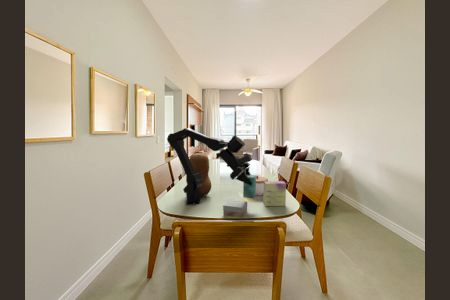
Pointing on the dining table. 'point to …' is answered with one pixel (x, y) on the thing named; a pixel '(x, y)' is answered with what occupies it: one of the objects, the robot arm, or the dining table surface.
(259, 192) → the lidded bowl
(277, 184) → the box
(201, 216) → the dining table surface
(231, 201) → the tower top slab
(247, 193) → the teal block
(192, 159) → the butternut squash
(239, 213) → the tower bottom slab
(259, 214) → the dining table surface
